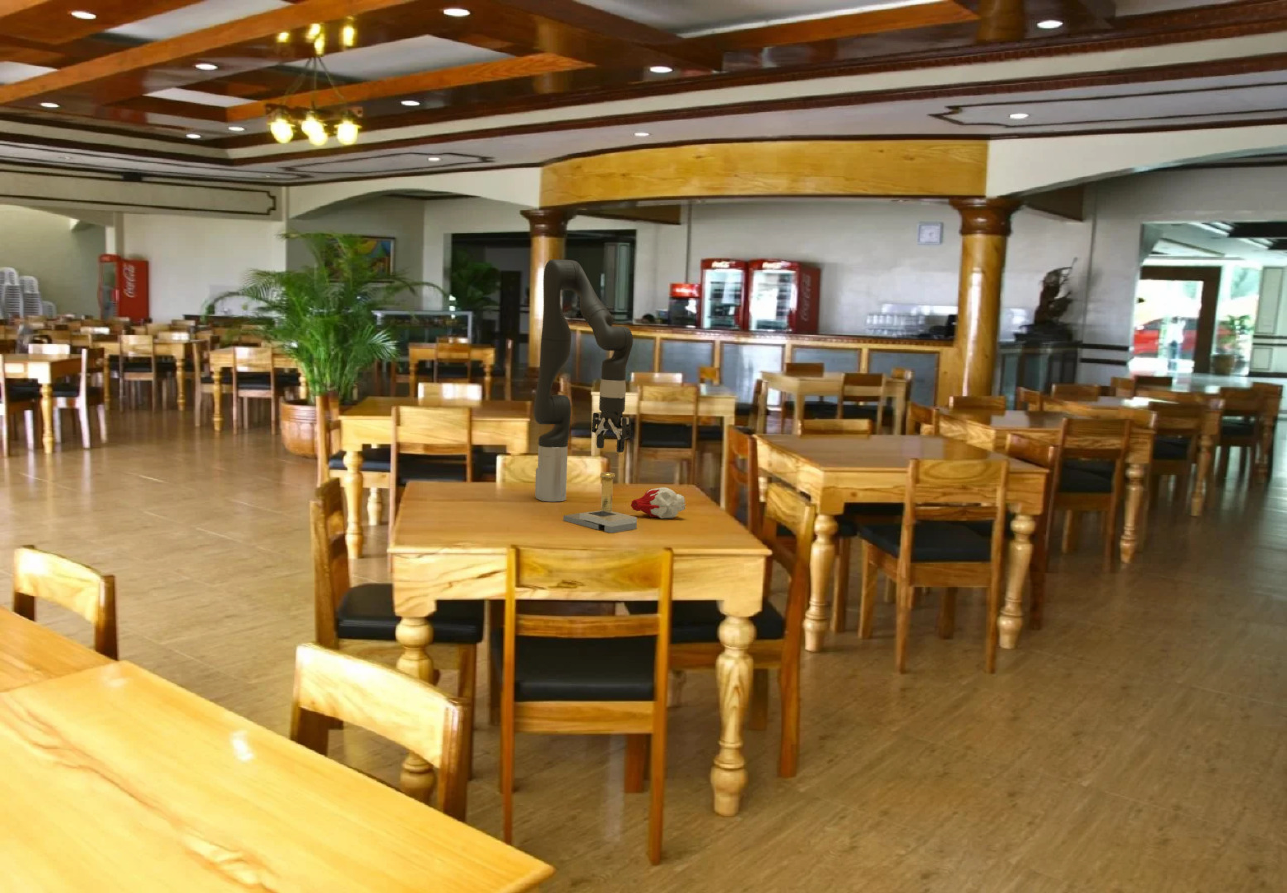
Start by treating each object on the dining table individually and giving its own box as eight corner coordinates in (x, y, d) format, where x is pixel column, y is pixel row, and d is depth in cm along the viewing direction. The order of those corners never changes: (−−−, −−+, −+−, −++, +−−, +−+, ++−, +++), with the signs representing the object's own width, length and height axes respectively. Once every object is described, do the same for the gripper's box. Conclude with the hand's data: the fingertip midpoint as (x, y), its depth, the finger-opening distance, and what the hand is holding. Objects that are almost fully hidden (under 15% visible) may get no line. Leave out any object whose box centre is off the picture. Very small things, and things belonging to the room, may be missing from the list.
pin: (596, 516, 318) (597, 473, 316) (606, 514, 321) (608, 471, 319) (605, 518, 315) (607, 475, 313) (616, 517, 318) (617, 473, 316)
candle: (687, 518, 318) (638, 525, 315) (675, 510, 329) (628, 517, 325) (685, 488, 317) (636, 495, 313) (673, 481, 327) (626, 488, 324)
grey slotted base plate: (563, 520, 310) (563, 509, 310) (589, 516, 317) (589, 505, 317) (610, 533, 296) (610, 521, 296) (636, 528, 303) (636, 517, 303)
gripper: (586, 393, 316) (584, 447, 318) (620, 398, 306) (617, 454, 308) (605, 392, 321) (603, 446, 323) (638, 397, 311) (636, 452, 313)
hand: (610, 450), depth 316 cm, fingers open, 8 cm apart
